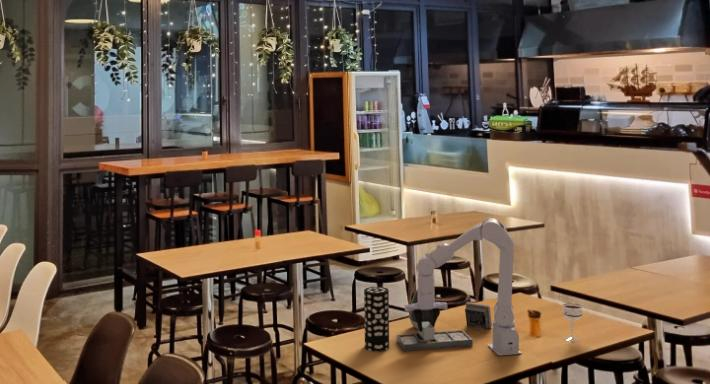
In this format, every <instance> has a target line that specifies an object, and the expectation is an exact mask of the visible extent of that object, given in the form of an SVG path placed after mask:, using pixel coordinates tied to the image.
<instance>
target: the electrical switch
mask: <svg viewBox="0 0 710 384" xmlns="http://www.w3.org/2000/svg"><path fill="white" fill-rule="evenodd" d="M464 313H465V321H466V327H467V326H468V327H467V328H475V329H479V330H485V331H487V330H488V329H489V328H492V327H493V320H492V313H491V307H490V305H488V304H483V303H475V302H471V301H467V302H466V303H465V308H464Z"/></svg>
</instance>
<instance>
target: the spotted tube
mask: <svg viewBox="0 0 710 384" xmlns="http://www.w3.org/2000/svg"><path fill="white" fill-rule="evenodd" d="M389 291H390V290H389V288H387V287H383V286H371V287H370V286H369V287H366V288H365V289H363V304H364V305H363V306H364V307H363V309H364V310H363V311H364V313H363V314H364V316H363V317H364V349H365V348H366V350H367V351H370V352H378V351H379V352H384V351H387V350H389V349H390V304H389V303H390V297H389V296H390V295H389V294H390V292H389Z"/></svg>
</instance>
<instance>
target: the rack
mask: <svg viewBox="0 0 710 384" xmlns="http://www.w3.org/2000/svg"><path fill="white" fill-rule="evenodd" d="M473 341H474V340H473V338H471V337H470V335H468V334H467V333H466V331H464V330H463V329H461V330H446V331H434V339H432V340H424V339H423V338H422V337H421V336H420V334H419V332H417V333H408V334H407V333H405V334H397V335H396V342H397V344H398V345H399V346H400V347H401V350H402V351H403V352H404V353H405V352H415V351H416V352H417V351H427V350H429V351H430V350H441V349H442V350H443V349H454V348H466V347H467V348H468V347H473Z"/></svg>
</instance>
